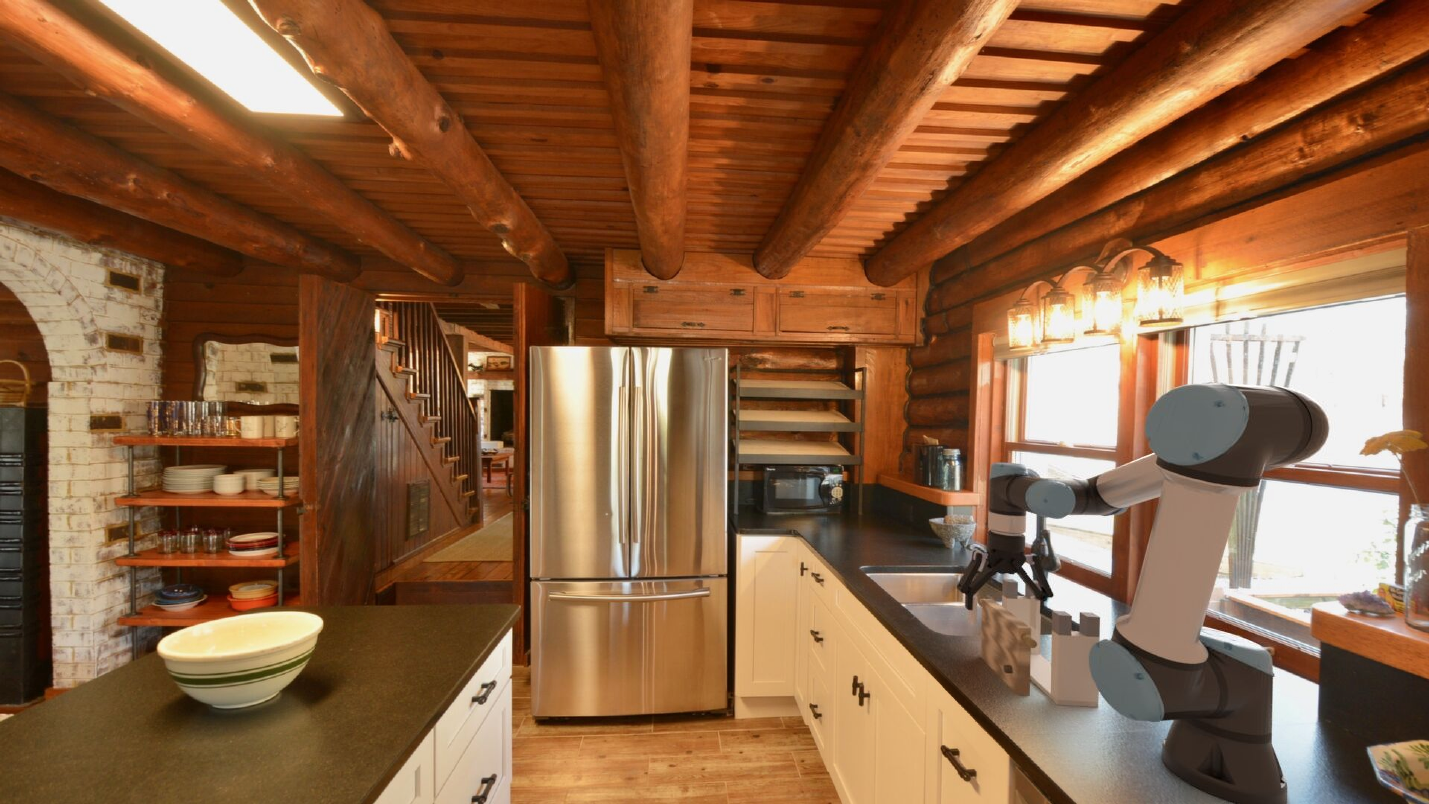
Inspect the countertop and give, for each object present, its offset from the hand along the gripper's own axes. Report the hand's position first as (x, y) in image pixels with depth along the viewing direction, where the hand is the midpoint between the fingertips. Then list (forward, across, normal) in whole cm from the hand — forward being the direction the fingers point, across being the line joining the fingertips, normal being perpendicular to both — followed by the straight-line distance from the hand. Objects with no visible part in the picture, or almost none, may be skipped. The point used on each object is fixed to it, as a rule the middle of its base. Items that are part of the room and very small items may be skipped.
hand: (1003, 625), depth 125 cm
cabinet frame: (+11, -9, +1) cm, 14 cm away
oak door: (+11, 0, +1) cm, 11 cm away
